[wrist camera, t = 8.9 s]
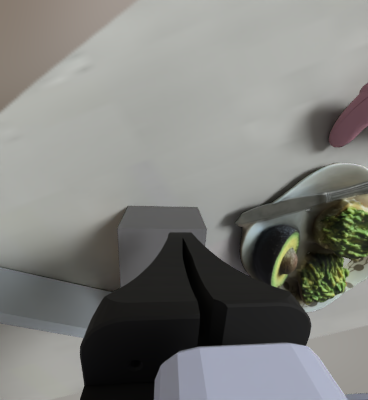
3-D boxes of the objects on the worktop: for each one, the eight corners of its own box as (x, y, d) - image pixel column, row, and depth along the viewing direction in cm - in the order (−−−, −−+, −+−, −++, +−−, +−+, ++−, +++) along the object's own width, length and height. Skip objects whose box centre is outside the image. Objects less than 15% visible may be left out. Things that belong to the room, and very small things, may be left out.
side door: (130, 296, 24) (121, 334, 19) (126, 306, 24) (117, 346, 20) (-39, 258, 21) (-96, 294, 16) (-40, 271, 21) (-96, 310, 16)
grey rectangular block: (189, 308, 25) (194, 349, 21) (131, 310, 25) (123, 352, 20) (197, 207, 21) (206, 229, 16) (128, 205, 21) (116, 228, 16)
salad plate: (368, 106, 20) (425, 100, 15) (419, 231, 25) (472, 252, 21) (209, 226, 22) (220, 250, 18) (286, 316, 28) (309, 350, 23)
